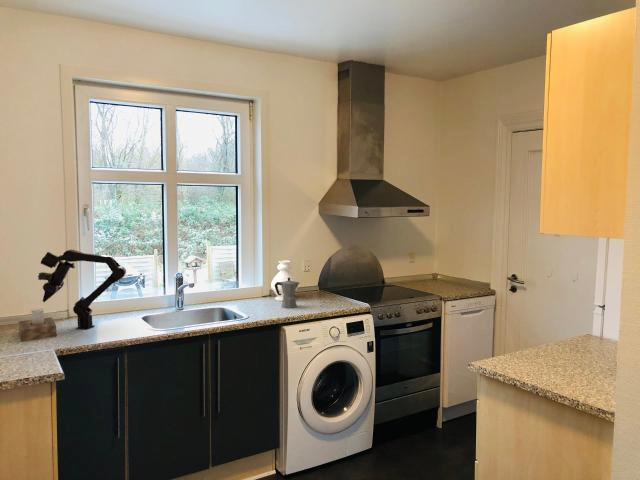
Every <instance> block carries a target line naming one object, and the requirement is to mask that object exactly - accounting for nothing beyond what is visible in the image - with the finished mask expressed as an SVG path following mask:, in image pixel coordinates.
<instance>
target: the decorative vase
mask: <svg viewBox="0 0 640 480" xmlns="http://www.w3.org/2000/svg"><path fill="white" fill-rule="evenodd" d="M278 263H279V264H278V265H277V267H276V268H277V270H278V272H277V274H276V275H275V276H274V277H273V279H272V281H271V283H270V284H271V285H270V287H271V290H272V291H273V292H274V293H275V295H276V296H275V300H276V301H283V296H284V294H283V291H282V285H277V286H278V290H279V294H281V295H278V294H277V291H276V289H275V284H276V283H277V282H284V281H288V278H290V281H294V282H299V281H298V280H297V277H296V276H295V275H294V274H293V273H292V272H291V270H292V268H293V266H292V264H290V263H291V260H286V259H285V260H284V259H283V260H278ZM298 289H299V285H298V286H297V288H296V290H295V292H296V291H297V290H298Z"/></svg>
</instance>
